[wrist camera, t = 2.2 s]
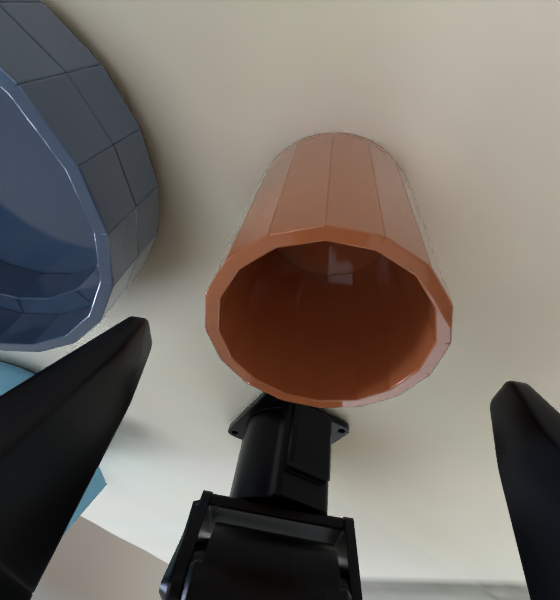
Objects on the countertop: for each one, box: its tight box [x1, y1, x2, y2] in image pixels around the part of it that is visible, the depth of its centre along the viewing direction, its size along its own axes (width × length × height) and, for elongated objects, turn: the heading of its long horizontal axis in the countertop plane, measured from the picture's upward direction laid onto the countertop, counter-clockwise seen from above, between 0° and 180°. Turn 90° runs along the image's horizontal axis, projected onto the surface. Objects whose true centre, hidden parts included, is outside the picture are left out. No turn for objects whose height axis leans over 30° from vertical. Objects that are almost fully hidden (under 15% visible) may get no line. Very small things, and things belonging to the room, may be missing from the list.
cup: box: [205, 133, 453, 408], centre depth 13 cm, size 6×6×8 cm
